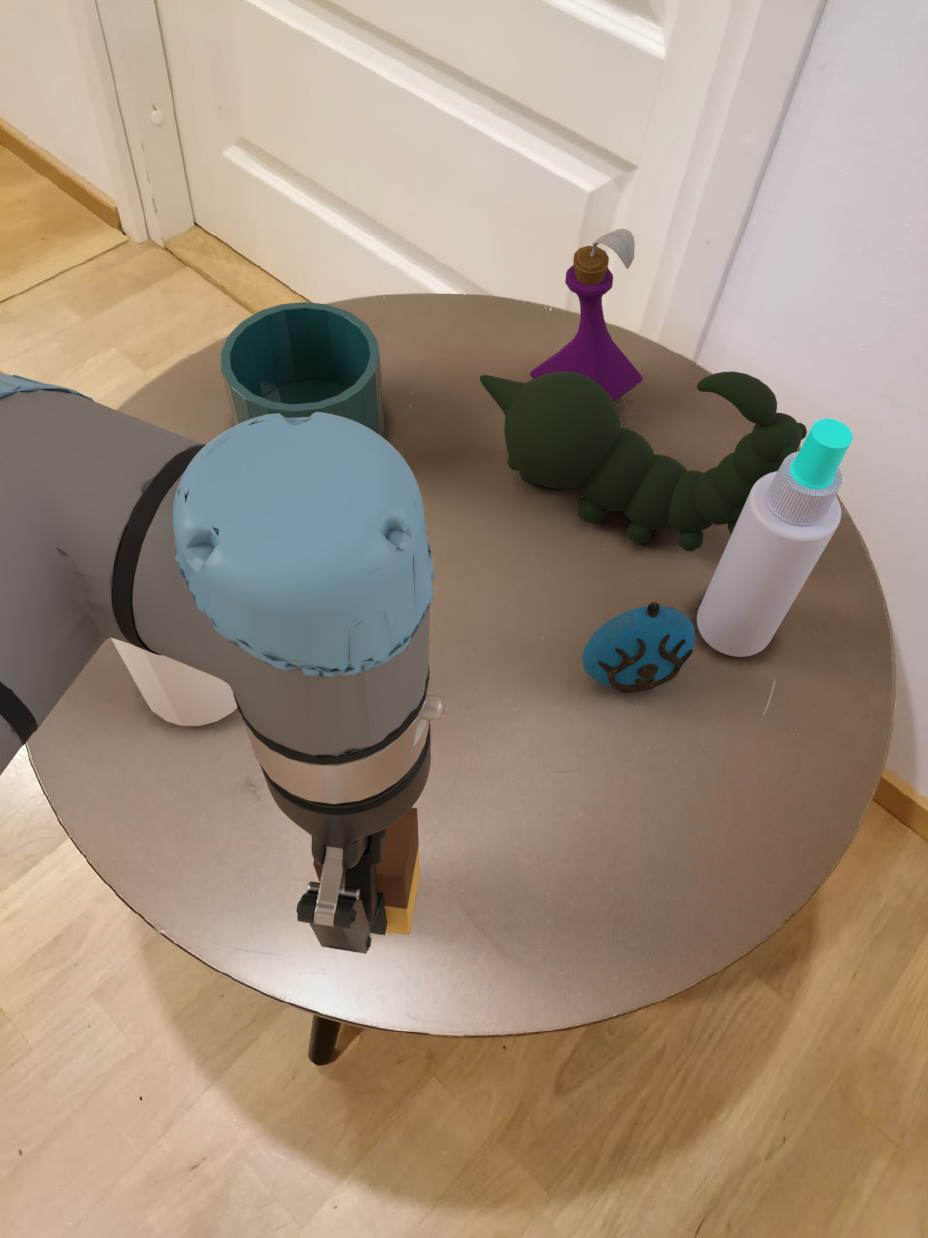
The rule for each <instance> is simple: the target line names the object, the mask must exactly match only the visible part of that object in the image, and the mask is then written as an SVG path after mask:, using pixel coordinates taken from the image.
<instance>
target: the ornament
mask: <svg viewBox="0 0 928 1238" xmlns="http://www.w3.org/2000/svg"><path fill="white" fill-rule="evenodd" d="M695 644H696V631H695V626H694V624H693V622H692V621H691V619H690V618H689V616H687V615H686V614H685V613H684V612H682V611H681V610H679V609H676V608H675V607H672V606H666V605H660V603H658V602H655V601H652V602H651V603H649V604H648V605H645V606H640V607H635V608H633V609H630V610H627V611H624V612H621V613H620V614H618V615H615V616H614V617H613V618H611V619H609V620H607V621H606V622H605V623H604V624H602V625H601V626H600V627H599V628H598V629H596V631H595V632H594V633H593V634H592V635H591V636H590V638H589V639H588V641H587V643H586V645H585V647H584V649H583V653H582V664H583V665H582V666H583V669H584V672H585V673H586V674H587V675H588V676H589V677H590V678H592V679H593V680H594V681H596V682H597V683H598V684H600V685H604V686H607V687H609V688H613V689H616V690H619V692H621V693H623V694H629V693H630V694H631V693H639V692H645V691H650V690H653V689H654V688H656V687H659V686H661V685H664V684H666V683H668V682H670V681H671V680H673V679H674V678H676V676H677V675H678V674H679V673H680V671H681V669H682V668H683V667H684V666H685V664H687V662H688V661H689V659H690V657H691V656H692V655H693V653H694V649H695Z"/></svg>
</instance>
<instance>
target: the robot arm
mask: <svg viewBox="0 0 928 1238" xmlns="http://www.w3.org/2000/svg"><path fill="white" fill-rule="evenodd" d="M427 533H428V532H427V524H426V515H425V506H424V500H423V496H422V493H421V489H420V486H419V484H418V481H417V478H416V477H415V474H414V472H413V470H412V469H411V467H410V466H409V464H408V462H407V461H406V459H405V458H404V457H403V456H402V454H401V453H400V452H399V451H398V450H397V449H396V448H395V447H394V446H393V444H392V443H390V442H389V441H388V440H386V438H384V436H383V437H381V436H380V435H379V434H377V433H376V432H374V431H373V430H371V429H369V428H368V427H366V426H364V425H362V424H360V423H358V422H355V421H353V420H350V419H348V418H345V417H341V416H337V415H333V414H328V413H323V412H315V413H313V414H312V415H311V416H310V417H300V418H286V417H283V416H282V415H281V414H280V413H276V414H267V415H263V416H259V417H256V418H252V419H250V420H247V421H244V422H242V423H240V424H238V425H236V426H235V425H233V426H232V427H230V428H227V429H226V430H224V431H222V432H221V433H220V434H218V435H216V436H215V437H214V438H213V439H211V440H210V441H209V442H208V443H207V444H204V443H201V442H198V441H196V440H194V439H191V438H189V437H186V436H183V435H181V434H178V433H176V432H173V431H170V430H168V429H166V428H162V427H160V426H159V425H156V424H152V423H150V422H148V421H145V420H143V419H139V418H137V417H135V416H132V415H129V414H127V413H125V412H122V411H119V410H117V409H114V408H112V407H109V406H107V405H105V404H102V403H99V402H97V401H95V400H94V399H93V398H92V397H90V396H87V395H84V394H82V393H81V392H80V391H77V390H75V389H72V388H68V387H65V386H61V385H57V384H52V383H45V382H41V381H38V380H34V379H31V378H28V377H24V376H21V375H18V374H8V373H5V372H0V776H2V774H3V773H4V771H6V769H7V767H8V766H9V765H10V763H11V762H12V760H14V758H15V757H16V755H17V754H18V752H19V751H20V750H21V748H22V747H24V746H25V745H26V744H27V742H28V741H29V740H30V738H31V737H32V735H34V733H36V732H37V731H38V730H39V728H40V727H41V726H42V724H43V723H44V721H45V720H46V719H47V718H48V717H49V715H50V714H51V712H52V711H53V710H54V709H55V707H56V705H57V704H58V703H59V702H60V700H61V699H62V698H63V696H64V695H65V694H66V692H67V691H68V690H69V689H70V687H71V686H72V685H73V683H74V682H75V680H76V679H77V678H78V677H79V675H80V674H81V672H82V671H83V670H84V668H85V667H86V666H87V664H88V663H89V662H90V661H91V659H92V658H93V657H94V655H95V654H96V653H97V651H98V650H99V649H100V647H101V646H103V644H104V643H105V642H106V641H107V640H108V639H109V638H110V639H111V638H114V639H117V640H120V641H123V642H126V643H129V644H132V645H134V646H136V647H139V648H141V649H143V650H146V651H149V652H151V653H154V654H157V655H164V656H166V657H168V658H171V659H173V660H176V661H178V662H181V663H183V664H186V665H188V666H190V667H193V668H195V669H198V670H200V671H203V672H205V673H207V674H210V675H212V676H215V677H217V678H219V679H221V680H223V681H224V682H226V683H227V684H228V685H229V686H230V687H231V689H232V691H233V695H234V698H235V701H236V704H237V709H238V712H239V714H240V715H241V719H242V722H243V725H244V727H245V730H246V734H247V737H248V739H249V742H250V744H251V748H252V751H253V755H254V757H255V759H256V761H257V762H258V763H259V766H260V769H261V771H262V774H263V777H264V779H265V782H266V784H267V787H268V790H269V792H270V795H271V797H272V799H273V800H274V802H275V804H276V805H277V807H278V808H279V810H281V812H282V813H283V814H284V815H285V816H286V817H287V818H288V819H289V820H290V821H291V822H292V823H294V824H295V825H297V826H298V827H299V828H300V829H302V830H303V831H304V832H306V833H307V834H308V835H310V837H311V847H310V848H311V856H312V859H313V861H314V860H315V861H316V862H317V863H318V864H320V865H323V869H322V875H321V881H320V883H319V881H309V882H308V883H307V888H306V892H305V893H303V894H302V895H301V898H300V899H299V901H298V902H297V904H296V911H295V912H296V914H297V915H296V916H297V917H296V918H297V919H296V920H297V922H301V923H306V924H309V926H310V927H311V929H312V931H313V934H314V935H315V937H316V939H317V941H318V943H319V945H320V946H321V948H327V949H334V950H339V951H344V952H352V953H357V954H358V953H359V954H364V955H366V954H367V953H368V951H369V950H370V948H371V945H372V940H373V938H372V937H371V934H374V935H378V936H379V935H381V936H386V934H387V932H386V928H387V918H386V912H385V905H384V899H383V893H378V892H377V868H376V864H379V863H380V862H381V858H382V854H383V849H384V845H385V841H386V831H387V827H388V826H390V825H392V824H393V823H395V822H396V821H398V820H399V819H400V818H401V817H403V816H404V815H405V814H406V813H407V812H408V811H409V810H410V809H411V808H414V805H415V804H416V803H417V801H418V800H419V798H420V797H421V795H422V793H423V791H424V789H425V787H426V784H427V781H428V778H429V776H430V775H429V774H430V770H431V764H432V763H431V760H432V748H431V747H432V746H431V745H432V743H431V741H432V740H431V739H432V737H431V736H432V735H431V734H432V732H431V731H432V730H431V721H436V720H441V718H442V717H443V715H444V713H445V707H446V703H445V701H444V699H443V698H442V697H440V696H437V695H433V694H432V695H431V694H429V691H430V690H429V689H430V675H431V674H430V663H429V660H430V659H429V658H430V627H431V625H430V624H431V622H430V621H431V619H430V618H431V606H432V603H433V599H434V593H433V592H434V587H433V580H434V579H435V569H434V563H433V557H432V550H431V546H430V543H429V540H428V535H427Z"/></svg>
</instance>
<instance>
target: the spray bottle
mask: <svg viewBox="0 0 928 1238" xmlns="http://www.w3.org/2000/svg"><path fill="white" fill-rule="evenodd" d="M853 436H854V435H853V432H852V430H851V429H850V427H848V425H846V424H845V423H844V422H842V421H840V420H837V419H834V418H821V419H817V420H816V421H814V423H813V424H812V426H811V428H810V430H809V431H808V433H807V434H806V437H805V438H804V441H803V443H802V445H801V447H800V449H799V451H797V452H794V453H792V454H790V455H788V456H787V457H786V458H785V459H784V461H783V463H782V464H781V466H780V468H779V470H778V471H776V472H772V473H769V474H767V475H765V476H763V477H762V478H760V479H759V480H758V481H757V482H756V483H755V484H754V486H753V487H752V489H751V491H750V494H749V496H748V498H747V500H746V503H745V505H744V507H743V510H742V512H741V514H740V516H739V519H738V521H737V523H736V525H735V528H734V530H733V532H732V534H730V537H729V539H728V541H727V544H726V546H725V549H724V551H723V552H722V555H721V557H720V560H719V562H718V564H717V566H716V569H715V571H714V572H713V573H714V574H713V575H712V578H711V580H710V582H709V585H708V587H707V589H706V592H705V594H704V596H703V598H702V600H701V603H700V605H699V608H698V610H697V614H696V624H697V628H698V631H699V634H700V636H701V637H702V638H703V640H704V641H705V642H706V644H707V645H708V646H709V647H711V648H712V649H714V650H715V651H717V652H719V653H720V654H724V655H726V656H730V657H735V658H746V657H751V656H754V655H757V654H760V652H762V651H763V650H764V649H766V648H767V647H768V645H769V644H770V642H771V641H772V639H773V637H774V636H775V634H776V633H777V631H778V629H779V627H780V625H782V622H783V620H784V619H785V617H786V615H787V614H788V612H789V610H790V609H791V607H792V605H793V603H794V601H795V600H796V599H797V597H798V596H799V594H800V591H801V590H802V589H803V587H804V585H805V583H806V581H807V580H808V578H809V576H810V575H811V574H812V572H813V569H814V568H815V566H816V564H817V562H818V561H819V559H820V557H821V556H822V554H823V552H824V551H825V550H826V547H827V545H828V544H829V543H830V541H831V539H832V537H833V535H834V534H835V532H836V531H837V528H838V527H839V525H840V522H841V519H842V508H841V503H840V501H839V498H838V497H837V494H838V491H839V489H840V488H841V486H842V482H843V475H842V471H841V469H840V468H839V467H840V465H841V463H842V462H843V459H844V458H845V455H846V454H847V451H848V449H849V447H850V445H851V444H852V442H853Z"/></svg>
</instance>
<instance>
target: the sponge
mask: <svg viewBox="0 0 928 1238" xmlns="http://www.w3.org/2000/svg"><path fill="white" fill-rule="evenodd" d="M419 842H420V841H419V818H418V808H417V807H412V808H411V809H410V810H409V811H408V812H407V813H406V814H405V815H404V816H403V817H401V818H400V819H399V820H398V821H396V822H395V823H393V824H392V825H390V826H388V827H387V831H386V841H385V845H384V849H383V854H382V858H381V862H380V863H379V864H376V868H377V892H378V893H383V899H384V905H385V912H386V918H387V928H386V933H393V934H399V935H403V936H404V935H405V936H409V935H410V934H411V928H412V921H413V916H414V911H415V906H416V899H417V894H418V889H419V884H420V883H419V882H420V876H421V872H420V871H421V870H420V869H421V868H420V846H419V845H420V844H419ZM312 864H313V868H314V871H315V874H316V877H317V880H318V882H319V883H320V881H321V875H322V869H323V865H320V864H318V863H317V862H316V861H315V860H314V859H313V863H312Z"/></svg>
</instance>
